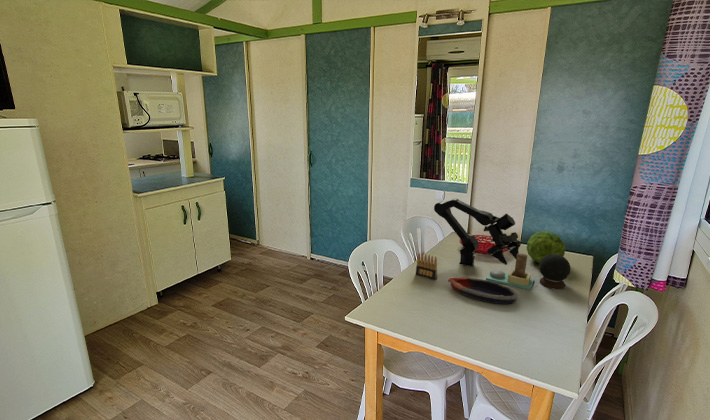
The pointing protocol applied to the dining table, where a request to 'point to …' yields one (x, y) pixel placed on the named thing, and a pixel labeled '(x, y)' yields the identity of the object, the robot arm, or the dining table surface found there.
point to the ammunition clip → (426, 267)
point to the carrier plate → (510, 279)
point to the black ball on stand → (554, 271)
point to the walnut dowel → (520, 265)
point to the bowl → (484, 244)
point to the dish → (483, 290)
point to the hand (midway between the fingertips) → (512, 262)
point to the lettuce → (544, 245)
